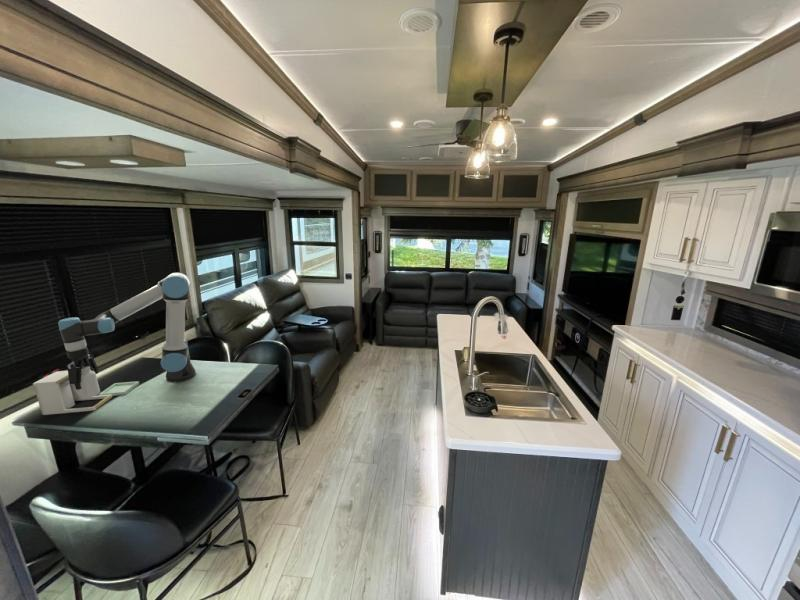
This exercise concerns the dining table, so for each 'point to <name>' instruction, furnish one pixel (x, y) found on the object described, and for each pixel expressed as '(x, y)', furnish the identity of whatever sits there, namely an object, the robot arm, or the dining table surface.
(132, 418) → the dining table surface
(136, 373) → the dining table surface
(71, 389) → the dispenser
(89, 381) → the pill bottle
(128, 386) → the tray
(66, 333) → the robot arm
